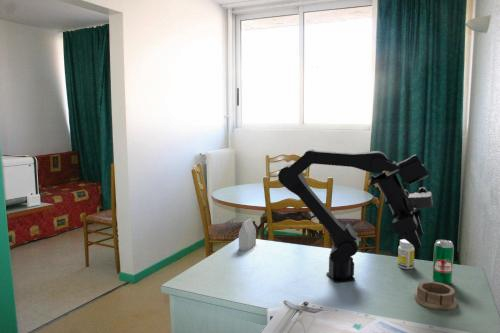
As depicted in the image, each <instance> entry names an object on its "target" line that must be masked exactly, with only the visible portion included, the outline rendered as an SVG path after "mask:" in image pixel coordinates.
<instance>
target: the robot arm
mask: <svg viewBox="0 0 500 333" xmlns="http://www.w3.org/2000/svg"><path fill="white" fill-rule="evenodd" d="M311 165H325V166H335V167H336V166H338V167H348V168H349V167H351V168H355V169H358V170H361V171H365V172H367V173H373V174H377V175H373V174H371V175H370V180H369V183H368V185H369V186H370V187H372V186H374V185H377V186H378V188H379V190H380V192H381V194H382V195H383V197H384V199H385V201H384V203H385V205H386V206H389V208H390V210H391V212H392V214H391V216H392V217H393V220H392V222H391V226H390V229H391V231H392V233H393V234H396V235H397V236H399V237H400V238H403V239H405V240H407V241H408V242H409V243H411V244H412V245H413V247H414V248H416V249H418V250H419V249H422V243H421V240H420V238H419V237H423V236H424V231H423V228H422V224H421V220H420V213H421V209H423V208H425V209H431V208H433V207H434V205H433V204H434V201H433V193H432V192H431V191H429V190H427V188H426V187H424V186H422V187H419V188H418V191H417V192H414V193H410V192H409V190H408V189H406V188H405V189H404V187H403V184H408V185H409V186H411V185H413V184H415V183H416V182H419V181H421V180H423V179H425V178H427V177H429V176H430V175H429V172H428V171H427V169H426V167H425V165H424V164H423V163H422V162H421V160H420V159H419V157H418V155H417V154H414V155H413V154H412V155H411V156H409V157H408V158H406V159H404V160H401V161H400V162H397V161H395V160H392V159H390V158H388V157H387V155H386V154H385V153H384V152H382V151H381V150H380V151H379V150H373V151H363V152H357V153H356V152H355V153H352V152H341V151H340V152H336V151H327V150H316V149H309V150H307V151H305V152H304V153H303V155H302V156H300V157H299V158H298V159H296V161H295V162H294V163H292V164H287V165H285V166H284V167H283V168H281V169H280V170H279V172H278V175H277V176H278V177H277V179H278V181H279V183H280V184H281V185H282V186H283V187H285V189H287V190H288V191H289V192H291V193H292V194H294V195H296V196H297V197H298V198H299V199H300V200H301V202H303V204H304V205H305V206H306V207H307V209H309V211H310V212H311V213H312V214H313V215H314V217H316V219H317V220H318V221H319V222H320V224H321V225H322V226H323V227H324V228H325V229H326V231H327V232H328V233H329V235H330V238H331V240H332V243H333V244H332V246H331V250H330V252H329V253H330V254H329V256H328V271H327V272H326V273H325V274H326V276H328V278H330V279H331V280H332V281H333V282H334V283H341V282H350V281H356V278H355V276H354V275H355V262H354V258H353V257H352V256H355V255H356V254H357V253H358V249H359V242H360V239H359V237H358V232H357V231H356V230H355V229H353V227H352V226H351V224H350V223H348V222H347V224H346V225H344V224H343V223H341V222H340V221H339V220H338V219H337V218H336V217H335V215H334V214H333V213H332V212H331V210H329V208H328V207H327V206H326V205H325V203H323V201H322V200H321V199H320V198H319V197H318V196H317V194H316V193H315V192H314V191H313V189H311V187H310V186H309V184H308V182H307V179H306V177H305V175H304V174H303V173H304V172H305V170H307V169H308V168H309V167H311ZM387 172H388V173H387ZM397 174H398V175H397ZM398 176H399V177H400V179H401V181H402V183H403V184H402V183H401V181H400V179H399V178H398Z"/></svg>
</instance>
